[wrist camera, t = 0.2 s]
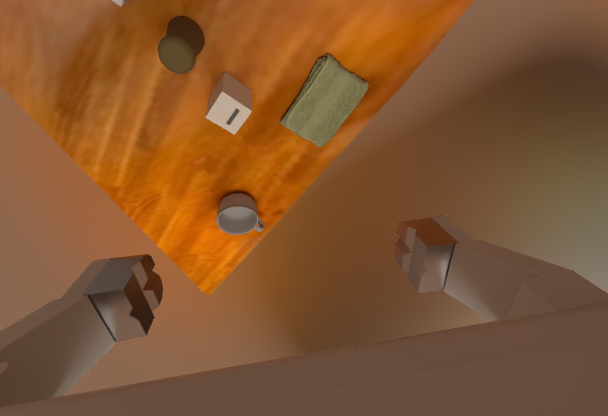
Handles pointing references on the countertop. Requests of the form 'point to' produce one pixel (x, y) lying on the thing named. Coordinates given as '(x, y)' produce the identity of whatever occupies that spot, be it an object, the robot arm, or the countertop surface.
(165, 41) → the dark brown tapered piece
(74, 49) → the countertop surface
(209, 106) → the cream marked block
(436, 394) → the robot arm
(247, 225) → the teacup
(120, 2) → the grey marked block
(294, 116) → the washcloth
